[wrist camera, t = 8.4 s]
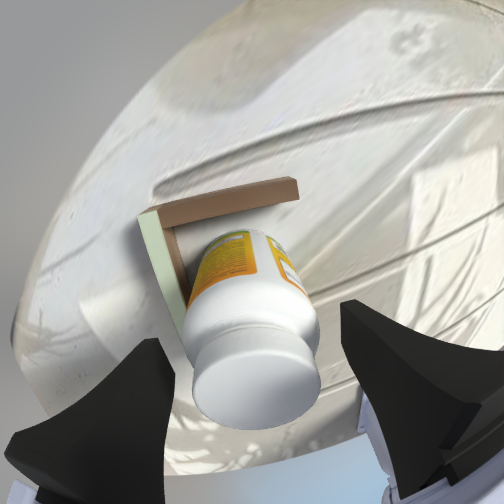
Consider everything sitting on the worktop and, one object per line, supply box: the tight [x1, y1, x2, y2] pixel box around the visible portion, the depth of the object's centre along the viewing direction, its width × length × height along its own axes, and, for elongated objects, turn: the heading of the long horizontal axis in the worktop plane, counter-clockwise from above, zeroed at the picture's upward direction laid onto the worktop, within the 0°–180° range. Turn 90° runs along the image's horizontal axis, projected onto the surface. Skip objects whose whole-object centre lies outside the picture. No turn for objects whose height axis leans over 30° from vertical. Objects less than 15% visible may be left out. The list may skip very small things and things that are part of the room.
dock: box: [137, 176, 299, 368], centre depth 15 cm, size 10×8×2 cm
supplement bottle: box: [182, 229, 321, 430], centre depth 12 cm, size 5×5×10 cm
